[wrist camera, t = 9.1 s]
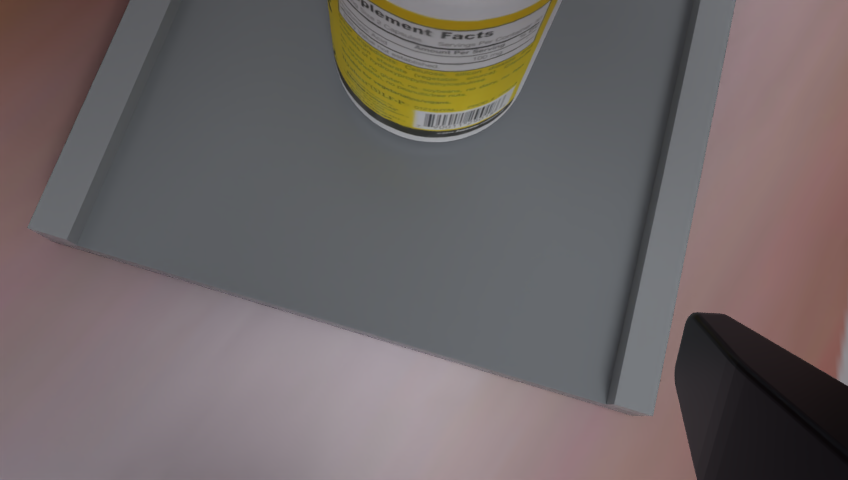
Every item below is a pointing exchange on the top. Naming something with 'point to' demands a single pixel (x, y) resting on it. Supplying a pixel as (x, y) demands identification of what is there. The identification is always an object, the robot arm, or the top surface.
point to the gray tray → (409, 186)
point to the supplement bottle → (436, 60)
